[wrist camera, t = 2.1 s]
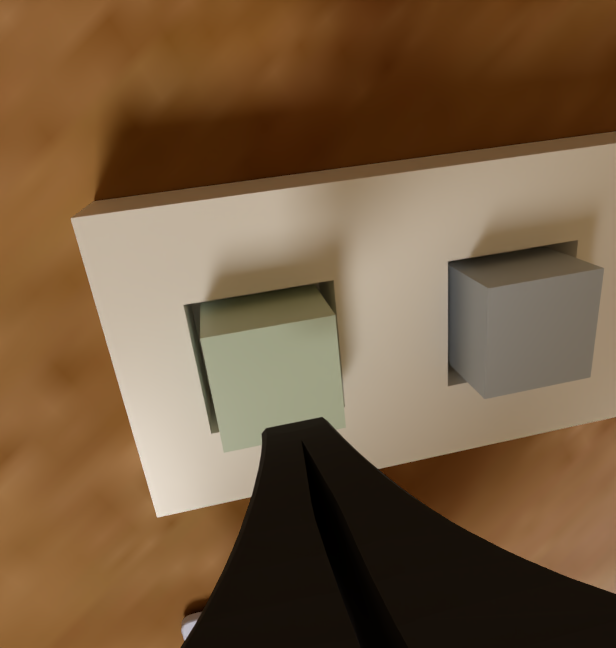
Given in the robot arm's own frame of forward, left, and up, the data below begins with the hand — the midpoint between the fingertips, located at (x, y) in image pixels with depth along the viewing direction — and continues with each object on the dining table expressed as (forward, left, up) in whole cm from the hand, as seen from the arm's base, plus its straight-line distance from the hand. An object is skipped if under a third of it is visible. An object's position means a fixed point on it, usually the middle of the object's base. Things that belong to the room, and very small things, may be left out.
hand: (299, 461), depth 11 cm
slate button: (0, -8, -6) cm, 10 cm away
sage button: (0, 0, -6) cm, 6 cm away
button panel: (0, -8, -8) cm, 11 cm away
